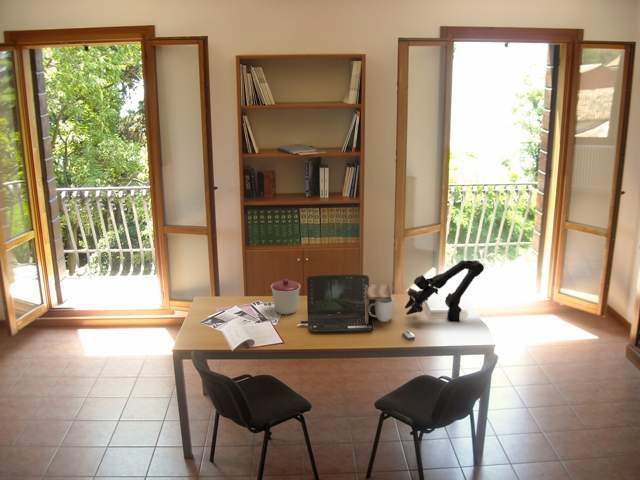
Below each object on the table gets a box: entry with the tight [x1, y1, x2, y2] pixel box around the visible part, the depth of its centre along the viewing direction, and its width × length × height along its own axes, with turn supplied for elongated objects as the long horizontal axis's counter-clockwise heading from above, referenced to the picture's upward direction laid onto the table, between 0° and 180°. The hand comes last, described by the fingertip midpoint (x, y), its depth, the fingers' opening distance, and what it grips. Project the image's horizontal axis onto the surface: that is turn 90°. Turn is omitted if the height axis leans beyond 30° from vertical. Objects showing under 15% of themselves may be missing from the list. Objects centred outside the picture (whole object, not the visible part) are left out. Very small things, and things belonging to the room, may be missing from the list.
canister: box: [270, 278, 301, 315], centre depth 370 cm, size 18×18×21 cm
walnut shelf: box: [364, 283, 392, 325], centre depth 359 cm, size 14×20×18 cm
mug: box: [368, 297, 395, 323], centre depth 360 cm, size 15×11×13 cm
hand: (405, 311), depth 359 cm, fingers open, 9 cm apart
